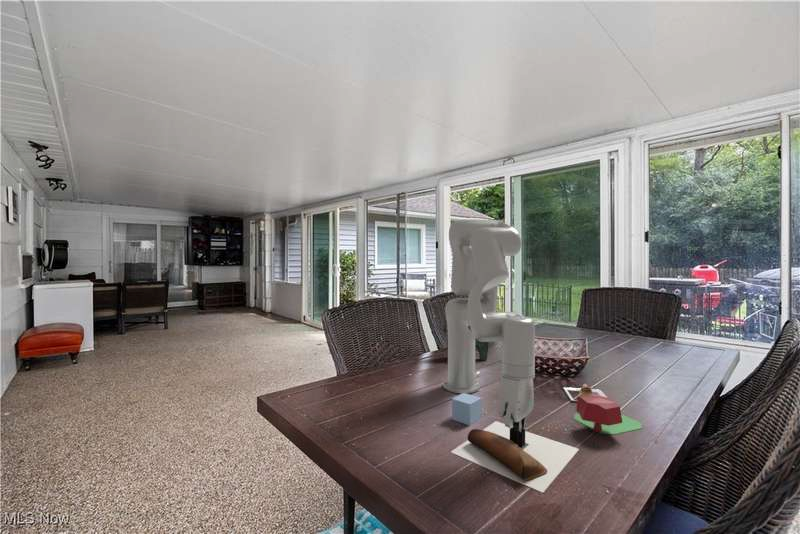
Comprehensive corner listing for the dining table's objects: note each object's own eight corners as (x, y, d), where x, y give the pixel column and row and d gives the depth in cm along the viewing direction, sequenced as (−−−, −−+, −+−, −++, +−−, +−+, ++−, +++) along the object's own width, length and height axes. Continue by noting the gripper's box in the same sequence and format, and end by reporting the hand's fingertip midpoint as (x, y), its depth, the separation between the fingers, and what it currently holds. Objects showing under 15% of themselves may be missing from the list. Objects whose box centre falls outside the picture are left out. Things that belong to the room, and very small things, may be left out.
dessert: (612, 406, 114) (612, 391, 114) (571, 403, 117) (571, 388, 116) (600, 392, 126) (600, 379, 126) (562, 390, 128) (562, 376, 128)
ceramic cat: (443, 359, 164) (443, 315, 164) (443, 355, 171) (443, 313, 170) (488, 361, 161) (488, 316, 160) (487, 357, 167) (487, 314, 167)
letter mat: (495, 421, 103) (495, 421, 103) (579, 449, 88) (579, 448, 88) (450, 452, 87) (450, 451, 87) (543, 493, 72) (543, 492, 72)
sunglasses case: (551, 469, 78) (540, 447, 77) (530, 494, 76) (518, 472, 74) (492, 433, 94) (482, 414, 93) (474, 453, 92) (463, 434, 90)
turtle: (555, 418, 105) (555, 387, 105) (608, 408, 111) (608, 379, 111) (599, 444, 91) (599, 408, 90) (656, 430, 97) (657, 397, 97)
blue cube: (463, 412, 109) (463, 392, 109) (481, 418, 105) (481, 398, 105) (452, 419, 105) (452, 398, 104) (470, 425, 101) (470, 404, 100)
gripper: (516, 359, 96) (516, 428, 96) (488, 373, 85) (487, 451, 85) (545, 365, 91) (544, 438, 91) (519, 380, 80) (518, 463, 80)
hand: (517, 444), depth 88 cm, fingers closed
